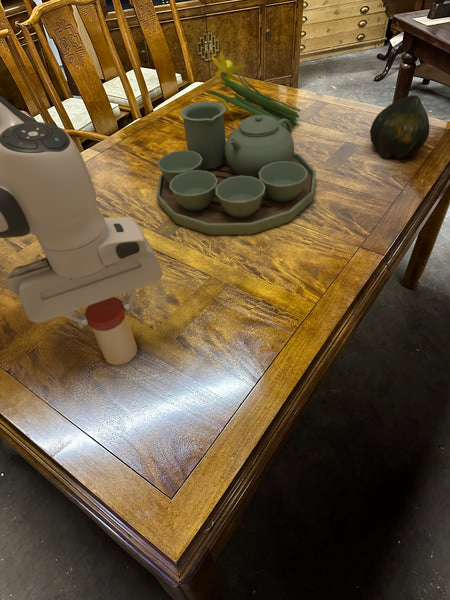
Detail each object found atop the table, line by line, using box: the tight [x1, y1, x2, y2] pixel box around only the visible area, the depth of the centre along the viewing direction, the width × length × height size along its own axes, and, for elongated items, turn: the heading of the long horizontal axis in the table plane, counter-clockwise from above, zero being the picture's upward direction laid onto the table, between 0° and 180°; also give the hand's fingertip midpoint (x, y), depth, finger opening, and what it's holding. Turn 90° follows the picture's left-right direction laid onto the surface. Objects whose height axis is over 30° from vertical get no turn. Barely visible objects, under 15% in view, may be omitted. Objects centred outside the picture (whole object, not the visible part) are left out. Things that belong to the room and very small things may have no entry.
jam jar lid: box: [84, 296, 127, 330], centre depth 66 cm, size 6×6×2 cm
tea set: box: [156, 100, 317, 236], centre depth 101 cm, size 40×40×16 cm
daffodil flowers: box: [206, 50, 301, 130], centre depth 132 cm, size 17×15×35 cm
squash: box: [369, 94, 430, 159], centre depth 111 cm, size 14×15×15 cm
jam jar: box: [90, 313, 138, 366], centre depth 70 cm, size 6×6×10 cm
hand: (107, 315), depth 67 cm, fingers closed on jam jar lid, 6 cm apart
